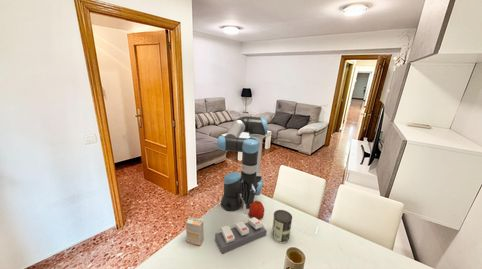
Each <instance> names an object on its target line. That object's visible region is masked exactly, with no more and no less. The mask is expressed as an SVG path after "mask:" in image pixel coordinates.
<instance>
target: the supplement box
mask: <svg viewBox="0 0 482 269" xmlns="http://www.w3.org/2000/svg"><path fill="white" fill-rule="evenodd" d="M204 227H205V226H204V219H200V218H196V217H191V216H190V217H189V218H188V219H187V221H186V222H185V231H186V243H187V244H192V245H195V246H199V247H200V246H201V245H202V243H203V242H204V239H205V236H204V234H205V233H204V231H205V230H204Z"/></svg>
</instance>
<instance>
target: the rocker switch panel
mask: <svg viewBox="0 0 482 269" xmlns="http://www.w3.org/2000/svg"><path fill="white" fill-rule="evenodd" d="M243 223H244V222H243ZM244 224H245V225H246V226H247V227H248V228H249V233H248V234H245V235H241V234H240V233H239V231H238V230H237V229H236V228H235V226H234V227H230V229H231V231H232V233H233V235H234V237H235V239H234V241H232V242H229V243H226V241H225V239H224V236H223V234H222V232H221V231H219V232H217V233H215V234H214V240H215V242H216V244H217V246H218V248H219V250H220V252H221V254H222V255H223V254H225V253H228V252H230V251H233V250H234V249H237V248H240V247H242V246H244V245H247V244H249V243H251V242H254V241H256V240H258V239H261V238H265V237H267V234H268V229H267V228H266V226H265V225H264V224H263V223H262V227H260V228H258V229H255V228H254V227H253V226H251V225H250V224H249V223H248V221H247V222H245V223H244Z"/></svg>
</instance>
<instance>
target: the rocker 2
mask: <svg viewBox="0 0 482 269" xmlns="http://www.w3.org/2000/svg"><path fill="white" fill-rule="evenodd" d="M234 227H235V228H236V229H237V230H238V231H239V233H240V234H241V235H245V234H248V233H249V228H248V227H247V226H246V225H245V224H244V222H243V221H242V220H241V221H238V222H235V223H234Z"/></svg>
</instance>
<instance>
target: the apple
mask: <svg viewBox="0 0 482 269" xmlns="http://www.w3.org/2000/svg"><path fill="white" fill-rule="evenodd" d="M248 214H249V216H250V218H254V217H255V218H256V219H258V220H260V219H262V218H263V217H264V214H265V207H264V205H263V203H262V201H259V200H254V201H253V203H252V204H250V208H249V213H248Z"/></svg>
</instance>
